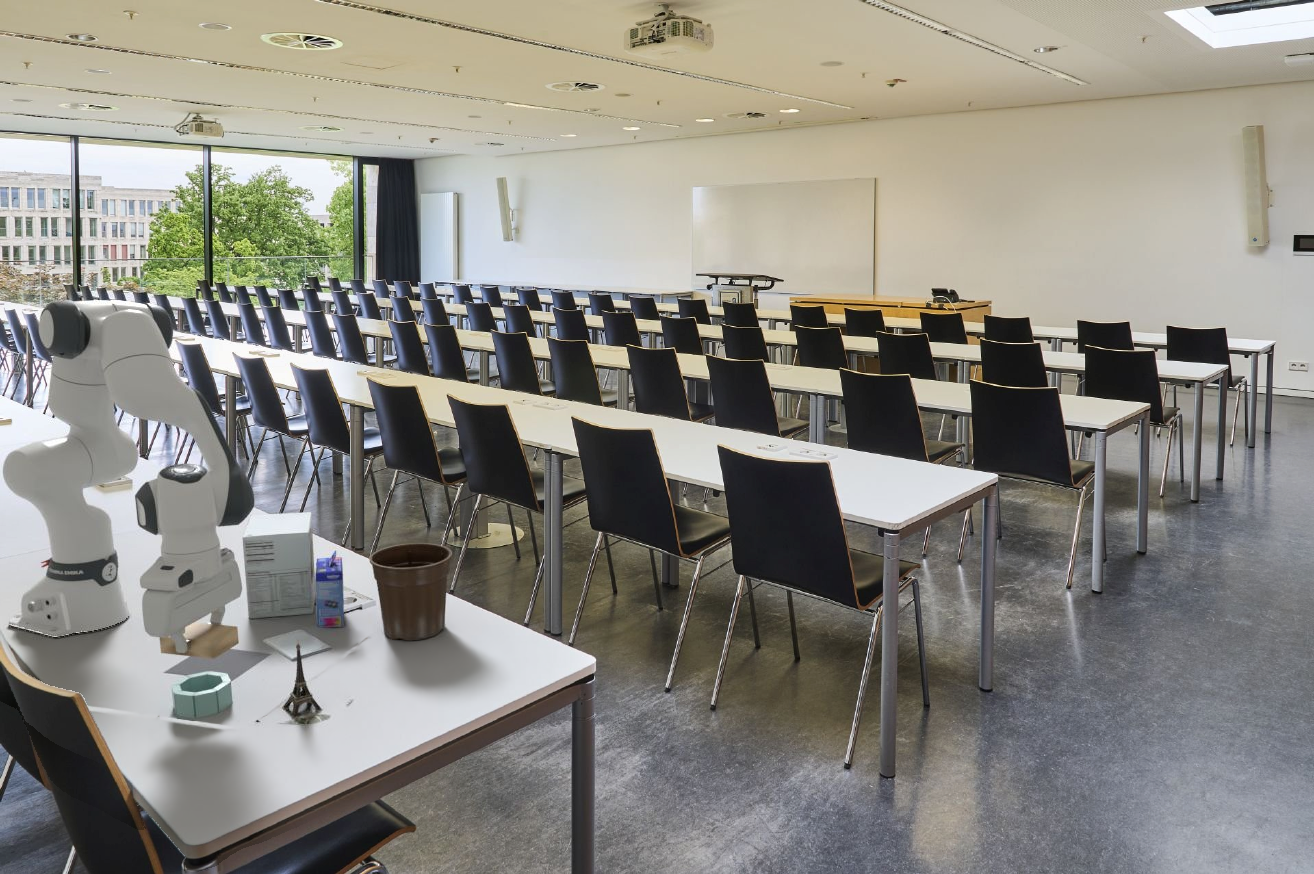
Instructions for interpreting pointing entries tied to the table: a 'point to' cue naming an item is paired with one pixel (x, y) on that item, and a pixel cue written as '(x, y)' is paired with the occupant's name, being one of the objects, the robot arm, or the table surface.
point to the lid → (204, 640)
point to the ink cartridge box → (329, 592)
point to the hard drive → (289, 641)
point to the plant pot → (412, 588)
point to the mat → (220, 663)
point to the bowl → (201, 694)
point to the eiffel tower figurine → (302, 701)
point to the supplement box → (279, 565)
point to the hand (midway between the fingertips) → (199, 641)
